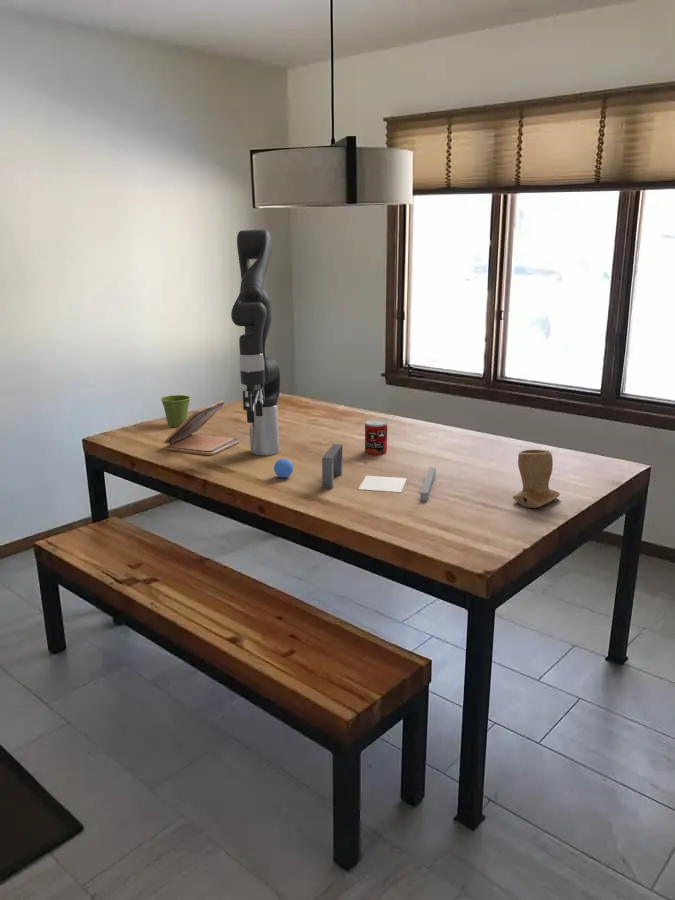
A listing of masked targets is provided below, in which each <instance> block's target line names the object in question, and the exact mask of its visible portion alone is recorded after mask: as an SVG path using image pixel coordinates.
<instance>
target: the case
mask: <svg viewBox="0 0 675 900" xmlns="http://www.w3.org/2000/svg"><path fill="white" fill-rule="evenodd" d="M224 405H225V400H224V399H223V400H220V401H216V402H214V403H212V404H209V405H207V406H205V407H202V408H200V409H198V410H196V411H194V412H193V413H191V414H190V415H189V417H187V419H186V420H185V421H184V422H183V423H182V424H181V425H180V426H179V427H176V429H175V430H173V432H172V433H171V434H170V435H169V436H168V437H167V438H165V440H164V442H163V443H164V444H168V445H167V446H166V447H165V449H166V450H167V451H173V452H180V453H188V454H196V455H203V456H214V455H216V454H219V453H220V452H223V451H225V450H227V449H229V448H231V447H233V446H235V445H238V444H239V443H240V440H239V439H237V438H235V437H229V436H224V435H223V436H222V435H215V434H214V435H213V434H207V433H197V431H199V430H200V429H201V428H202V427H203V426H204V425H205V424H206V423H207V422H208V421H209V420H210V419H212V417H213V416H214V415H215V414H216V413H217V412H218V411H220V410H221V409H222V408H223V406H224Z"/></svg>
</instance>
